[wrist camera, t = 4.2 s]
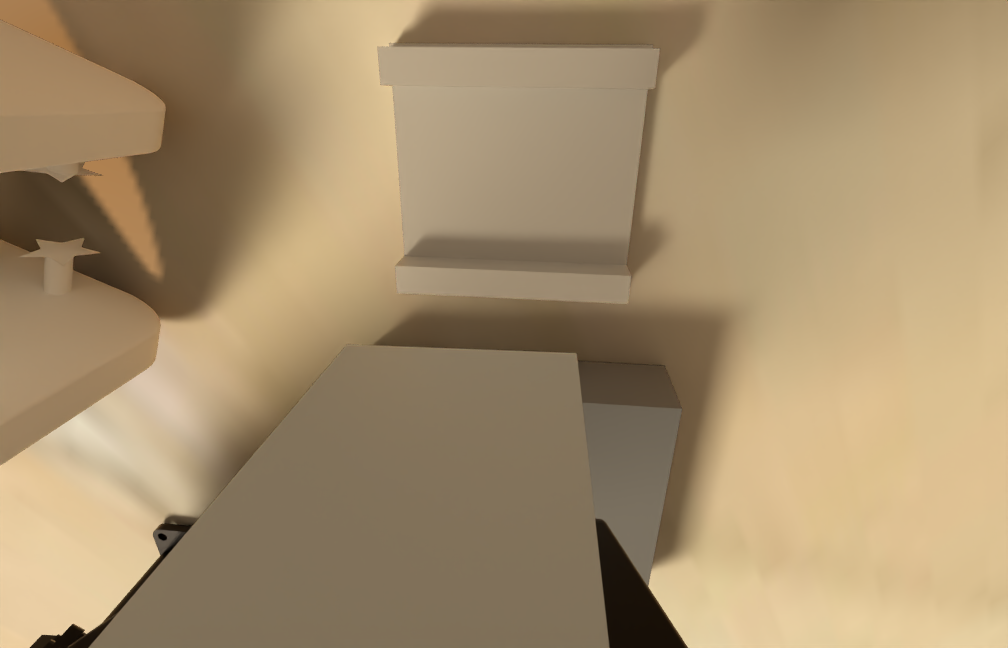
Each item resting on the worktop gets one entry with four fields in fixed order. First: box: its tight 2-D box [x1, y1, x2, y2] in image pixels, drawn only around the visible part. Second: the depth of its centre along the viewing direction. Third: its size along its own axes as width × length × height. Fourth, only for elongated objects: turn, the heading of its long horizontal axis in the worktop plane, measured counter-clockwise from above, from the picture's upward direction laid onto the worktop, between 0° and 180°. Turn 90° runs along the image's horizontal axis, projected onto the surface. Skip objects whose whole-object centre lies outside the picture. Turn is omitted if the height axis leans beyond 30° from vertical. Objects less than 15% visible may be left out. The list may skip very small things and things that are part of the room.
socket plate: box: [578, 361, 682, 586], centre depth 21 cm, size 12×12×3 cm
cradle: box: [377, 43, 660, 304], centre depth 16 cm, size 8×8×2 cm
